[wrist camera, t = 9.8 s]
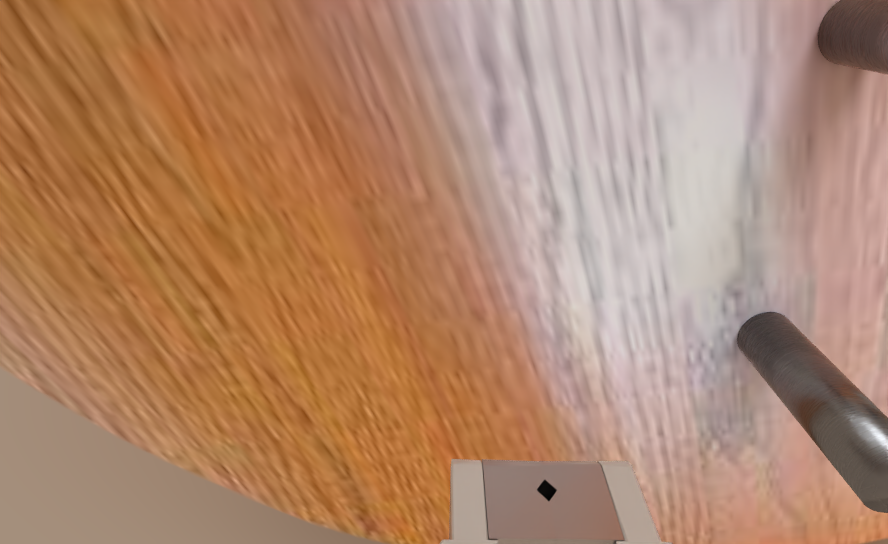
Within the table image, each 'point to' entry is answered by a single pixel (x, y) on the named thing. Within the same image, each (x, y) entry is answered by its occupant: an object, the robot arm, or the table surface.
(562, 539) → the robot arm
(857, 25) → the post
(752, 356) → the post
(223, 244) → the table surface
